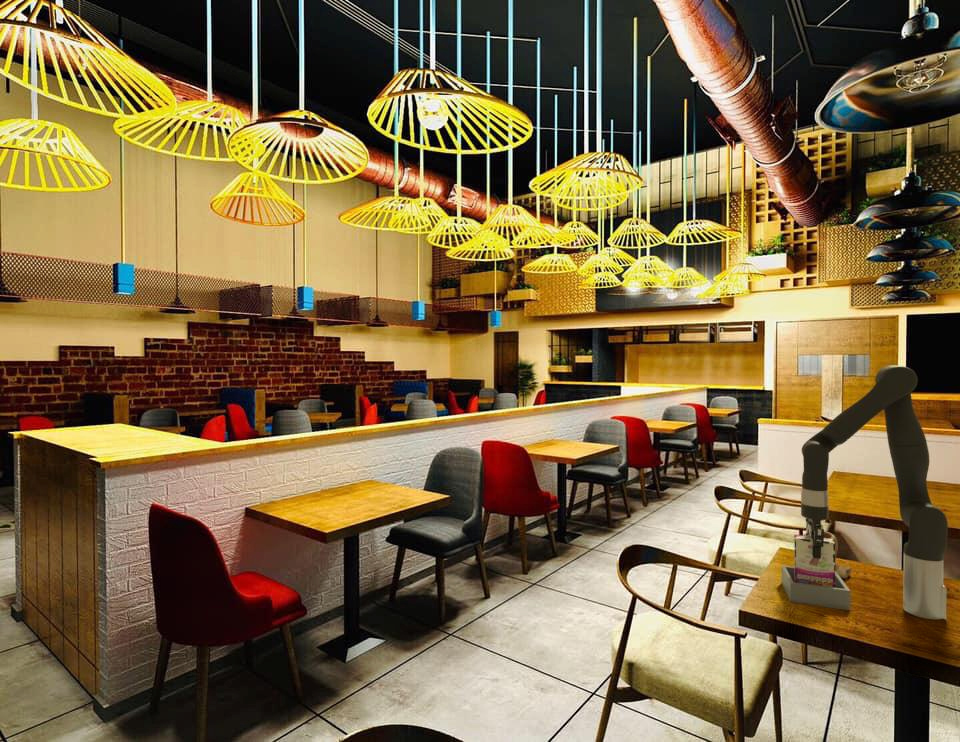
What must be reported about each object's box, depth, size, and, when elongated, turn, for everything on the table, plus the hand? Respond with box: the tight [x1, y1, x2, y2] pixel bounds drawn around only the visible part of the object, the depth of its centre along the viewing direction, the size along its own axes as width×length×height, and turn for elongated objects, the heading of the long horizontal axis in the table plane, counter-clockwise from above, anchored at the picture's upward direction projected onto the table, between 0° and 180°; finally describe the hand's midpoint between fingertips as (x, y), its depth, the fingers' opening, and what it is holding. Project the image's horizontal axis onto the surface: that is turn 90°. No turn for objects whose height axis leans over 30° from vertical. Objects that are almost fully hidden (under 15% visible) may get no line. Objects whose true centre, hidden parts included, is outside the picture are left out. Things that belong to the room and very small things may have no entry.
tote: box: [781, 565, 851, 611], centre depth 172 cm, size 16×16×6 cm
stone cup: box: [803, 530, 853, 579], centre depth 190 cm, size 15×12×15 cm
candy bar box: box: [793, 534, 836, 588], centre depth 172 cm, size 11×5×16 cm, turn 62°
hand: (814, 554), depth 172 cm, fingers closed on candy bar box, 5 cm apart
